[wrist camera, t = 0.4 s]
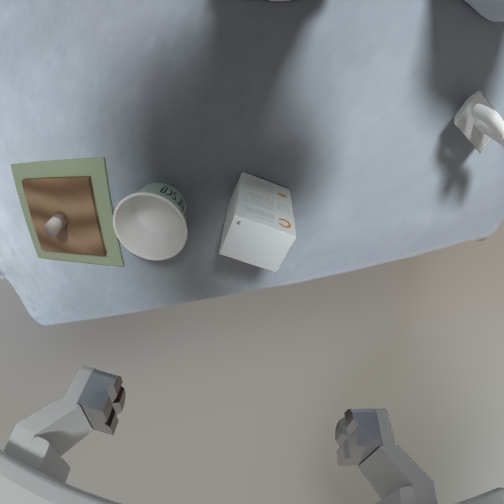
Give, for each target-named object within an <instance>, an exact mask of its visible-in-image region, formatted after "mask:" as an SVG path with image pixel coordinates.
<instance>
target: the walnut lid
mask: <svg viewBox="0 0 504 504" xmlns="http://www.w3.org/2000/svg"><path fill="white" fill-rule="evenodd" d="M21 182H22V186H23V190H24V194H25V197H26V201H27V205H28V208H29V211H30V215H31V218H32V221H33V225H34V228H35V231H36V234H37V237H38V240H39V243H40V246H41V249H42V250H44V251H54V252H65V253H75V254H86V255H97V256H105V255H106V254H107V251H106V247H105V243H104V239H103V235H102V230H101V226H100V221H99V216H98V212H97V207H96V202H95V196H94V191H93V186H92V180H91V176H66V177H43V178H25V179H23V180H22V181H21Z"/></svg>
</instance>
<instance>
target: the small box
mask: <svg viewBox="0 0 504 504" xmlns="http://www.w3.org/2000/svg"><path fill="white" fill-rule="evenodd" d="M296 239H297V234H296V227H295V219H294V213H293V206H292V199H291V193H290V189H287V188H285V187H282V186H280V185H277V184H274V183H272V182H269V181H266V180H264V179H261V178H258V177H256V176H253V175H250V174H247V173H245V172H242V173H241V175H240V177H239V180H238V182H237V185H236V187H235V190H234V192H233V194H232V197H231V199H230V202H229V204H228V208H227V213H226V217H225V222H224V228H223V233H222V238H221V243H220V249H219V254H220V255H223V256H226V257H229V258H232V259H235V260H238V261H242V262H245V263H248V264H251V265H254V266H257V267H260V268H263V269H266V270H269V271H272V272H275V273H276V272H277V270H278V269H279V267H280V265H281V264H282V262H283V260H284V259H285V257H286V255H287V254H288V252H289V250H290V249H291V247H292V245H293V244H294V242H295V240H296Z"/></svg>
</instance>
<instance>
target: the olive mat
mask: <svg viewBox="0 0 504 504" xmlns="http://www.w3.org/2000/svg"><path fill="white" fill-rule="evenodd" d="M11 168H12V172H13V176H14V181H15V185H16V188H17V192H18V196H19V199H20V203H21V206H22V210H23V213H24V216H25V220H26V223H27V226H28V229H29V232H30V235H31V238H32V241H33V244H34V247H35V249H36V252H37V255H38V257H39V258H46V259H55V260H64V261H73V262H83V263H92V264H102V265H112V266H123V267H124V262H123V258H122V254H121V249H120V244H119V240H118V238H117V236H116V234H115V231H114V227H113V209H112V203H111V197H110V191H109V185H108V178H107V171H106V164H105V158H87V159H68V160H54V161H41V162H30V163H20V164H12V165H11ZM66 176H91V180H92V186H93V191H94V196H95V202H96V207H97V212H98V216H99V221H100V226H101V230H102V235H103V239H104V243H105V247H106V251H107V254H106V255H105V256H97V255H86V254H75V253H65V252H54V251H44V250H42V249H41V246H40V243H39V240H38V237H37V234H36V231H35V228H34V225H33V221H32V218H31V215H30V211H29V208H28V205H27V201H26V197H25V194H24V190H23V186H22V182H21V181H22V180H23V179H25V178H43V177H66Z"/></svg>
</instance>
